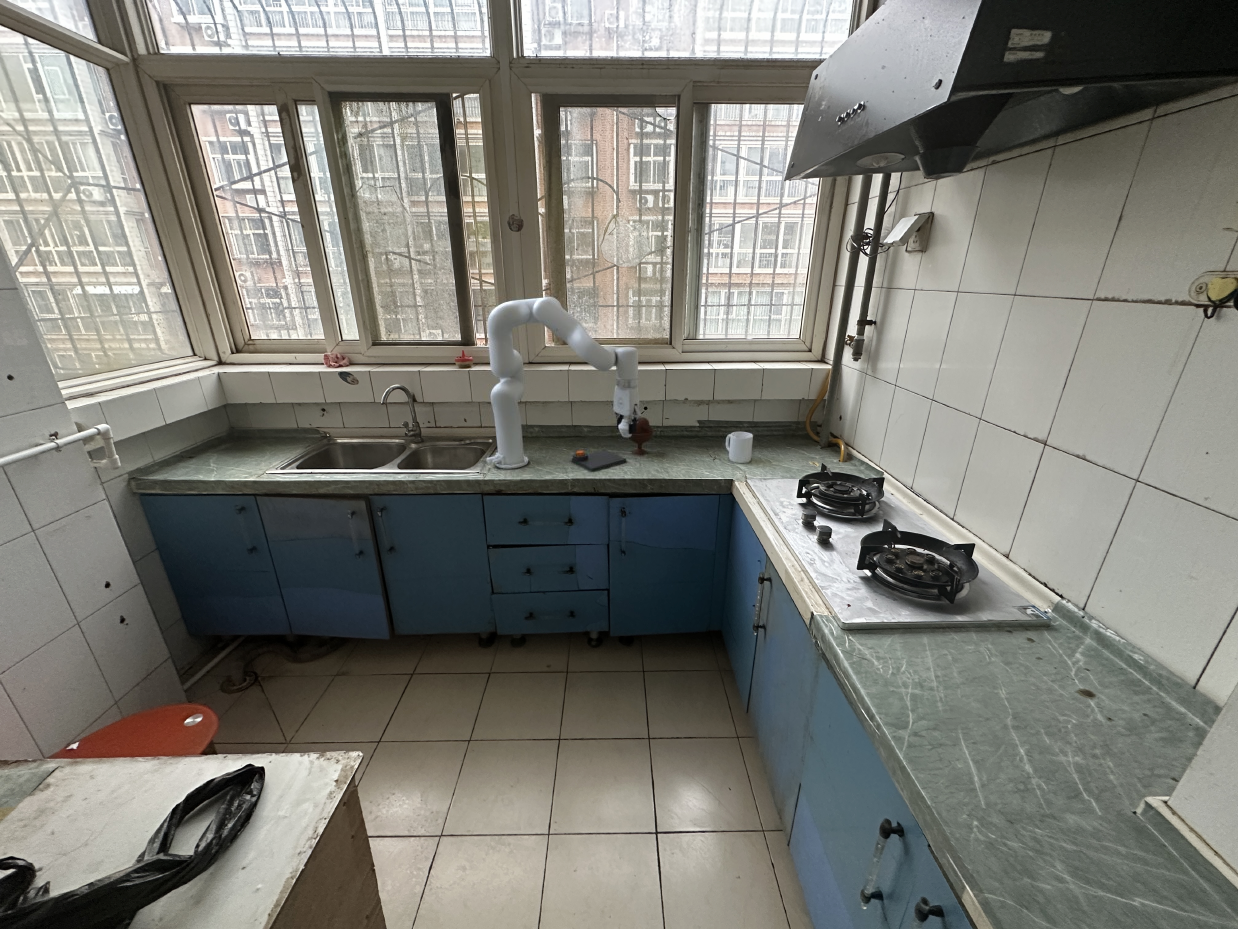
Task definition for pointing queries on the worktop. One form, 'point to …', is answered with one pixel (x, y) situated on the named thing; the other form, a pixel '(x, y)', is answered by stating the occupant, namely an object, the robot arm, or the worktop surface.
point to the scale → (598, 460)
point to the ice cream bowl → (641, 435)
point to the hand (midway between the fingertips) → (626, 430)
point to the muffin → (624, 428)
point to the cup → (739, 446)
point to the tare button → (580, 453)
